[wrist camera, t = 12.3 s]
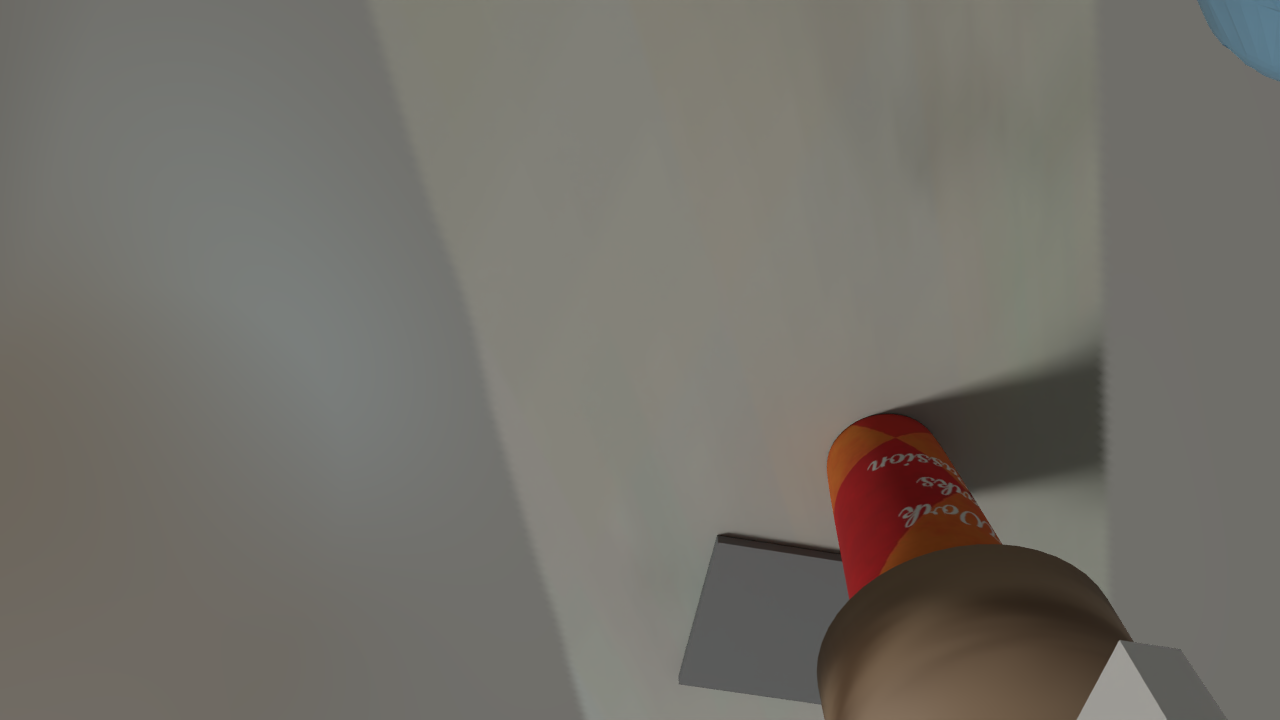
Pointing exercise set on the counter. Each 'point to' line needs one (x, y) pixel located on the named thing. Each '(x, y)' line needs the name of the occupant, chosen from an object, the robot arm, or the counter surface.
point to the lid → (969, 639)
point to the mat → (763, 619)
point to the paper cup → (897, 498)
